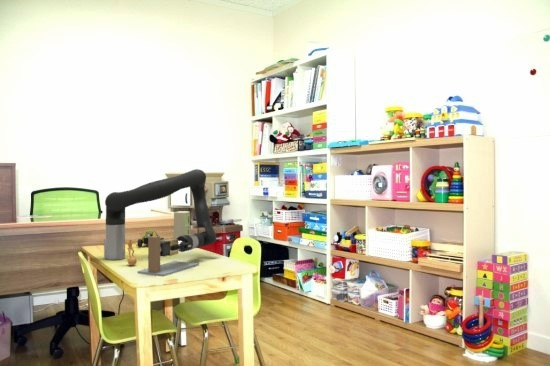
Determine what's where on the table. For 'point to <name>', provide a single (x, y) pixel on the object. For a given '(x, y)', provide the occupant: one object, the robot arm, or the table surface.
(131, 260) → the figurine
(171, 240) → the sleeve
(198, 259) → the table surface
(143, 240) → the motor vehicle
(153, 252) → the pipe rig
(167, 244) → the dark grey slab
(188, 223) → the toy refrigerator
